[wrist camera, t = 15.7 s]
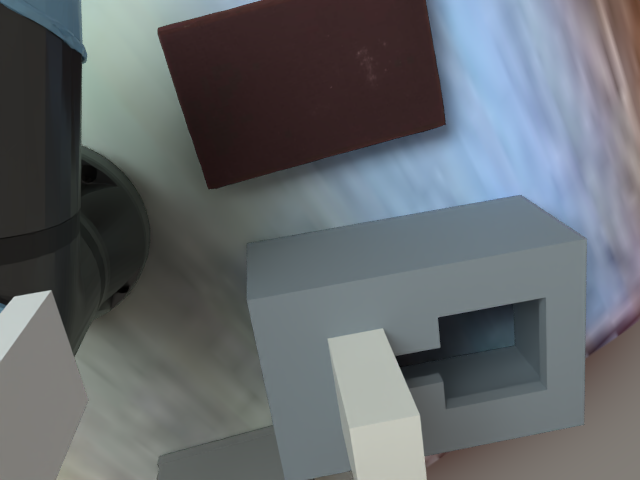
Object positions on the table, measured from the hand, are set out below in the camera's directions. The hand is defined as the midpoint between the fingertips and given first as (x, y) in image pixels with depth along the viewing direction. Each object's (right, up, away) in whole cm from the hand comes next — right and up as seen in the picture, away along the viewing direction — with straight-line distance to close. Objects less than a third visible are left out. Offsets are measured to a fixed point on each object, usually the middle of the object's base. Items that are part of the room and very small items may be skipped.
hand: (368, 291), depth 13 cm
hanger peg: (+1, -7, +37) cm, 38 cm away
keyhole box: (+6, -4, +42) cm, 42 cm away
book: (-2, +14, +35) cm, 38 cm away
